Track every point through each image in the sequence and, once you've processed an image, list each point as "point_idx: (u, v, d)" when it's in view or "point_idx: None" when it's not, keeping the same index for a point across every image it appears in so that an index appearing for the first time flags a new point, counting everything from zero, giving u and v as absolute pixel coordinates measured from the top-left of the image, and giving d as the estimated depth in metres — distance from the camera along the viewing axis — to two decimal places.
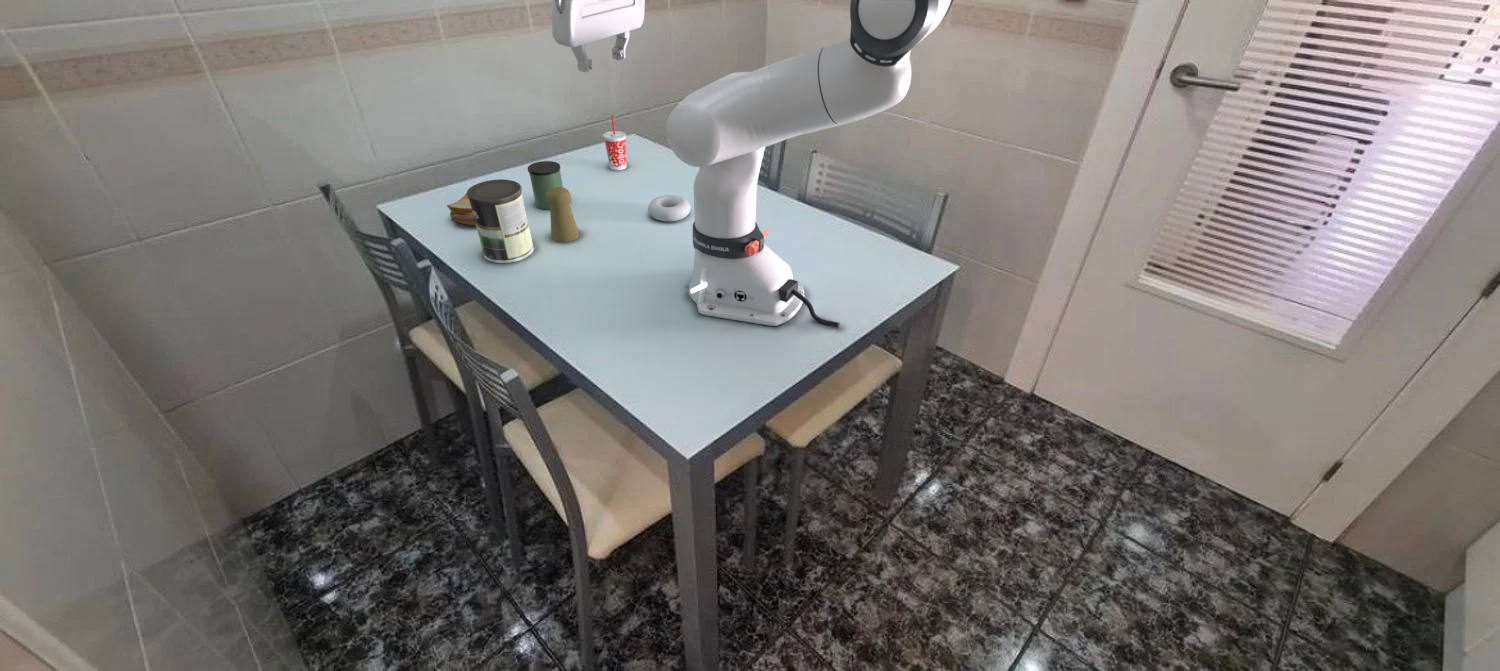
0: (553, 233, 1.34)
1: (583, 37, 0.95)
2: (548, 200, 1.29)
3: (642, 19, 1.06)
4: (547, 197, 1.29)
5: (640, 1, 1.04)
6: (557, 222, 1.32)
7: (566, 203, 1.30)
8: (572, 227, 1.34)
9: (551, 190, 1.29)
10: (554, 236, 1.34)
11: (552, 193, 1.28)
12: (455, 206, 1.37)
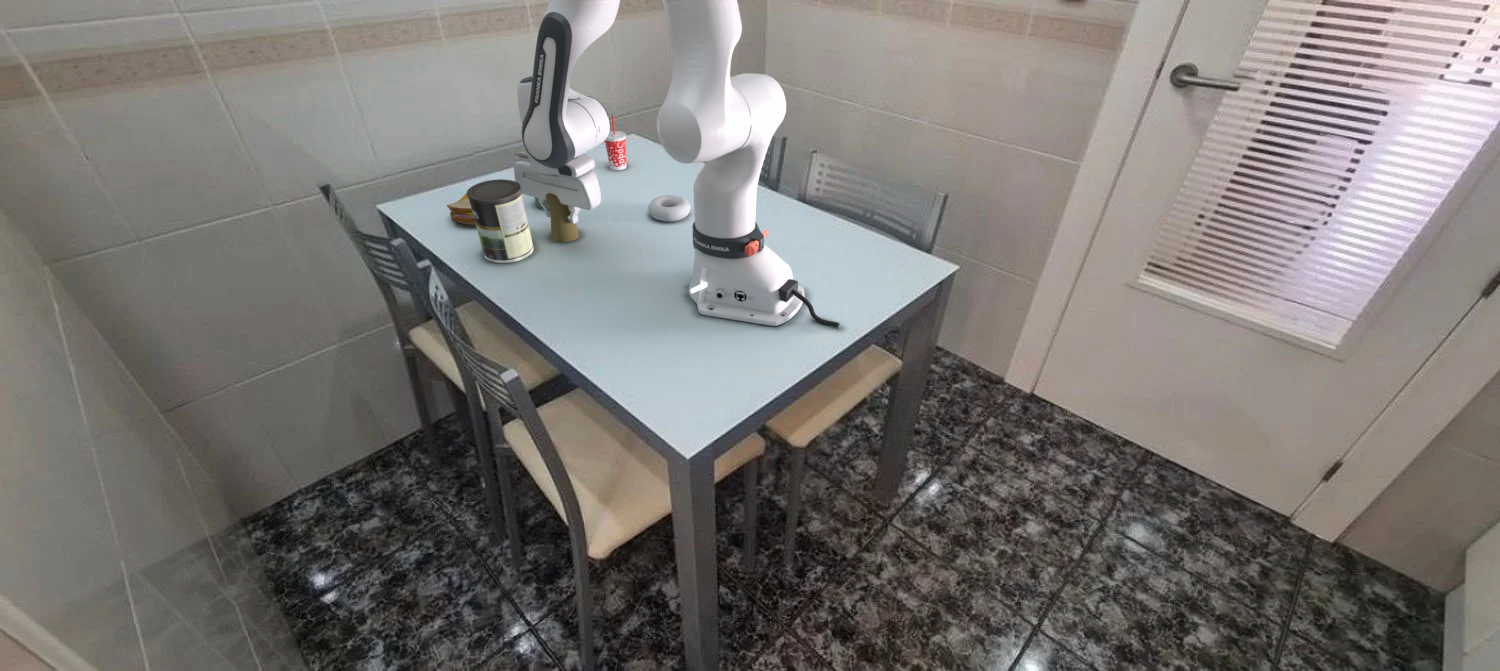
0: (553, 233, 1.34)
1: (526, 191, 1.31)
2: (548, 200, 1.29)
3: (587, 205, 1.26)
4: (547, 197, 1.29)
5: (581, 191, 1.24)
6: (557, 222, 1.32)
7: None
8: (572, 227, 1.34)
9: None
10: (554, 236, 1.34)
11: None
12: (455, 206, 1.37)
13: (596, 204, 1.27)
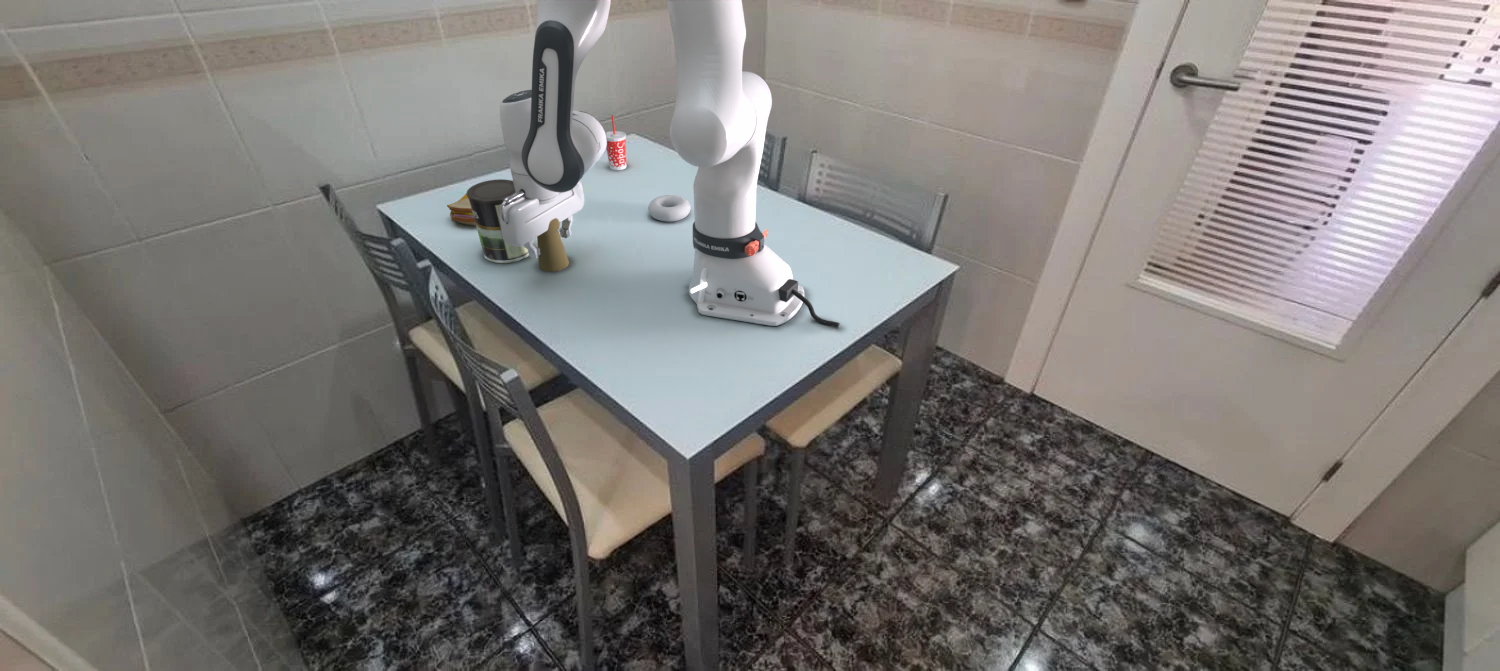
0: (560, 261, 1.24)
1: (528, 236, 1.14)
2: (554, 226, 1.19)
3: (582, 202, 1.26)
4: (551, 224, 1.19)
5: (578, 191, 1.24)
6: (561, 246, 1.23)
7: None
8: None
9: None
10: (562, 264, 1.24)
11: None
12: (455, 206, 1.37)
13: None
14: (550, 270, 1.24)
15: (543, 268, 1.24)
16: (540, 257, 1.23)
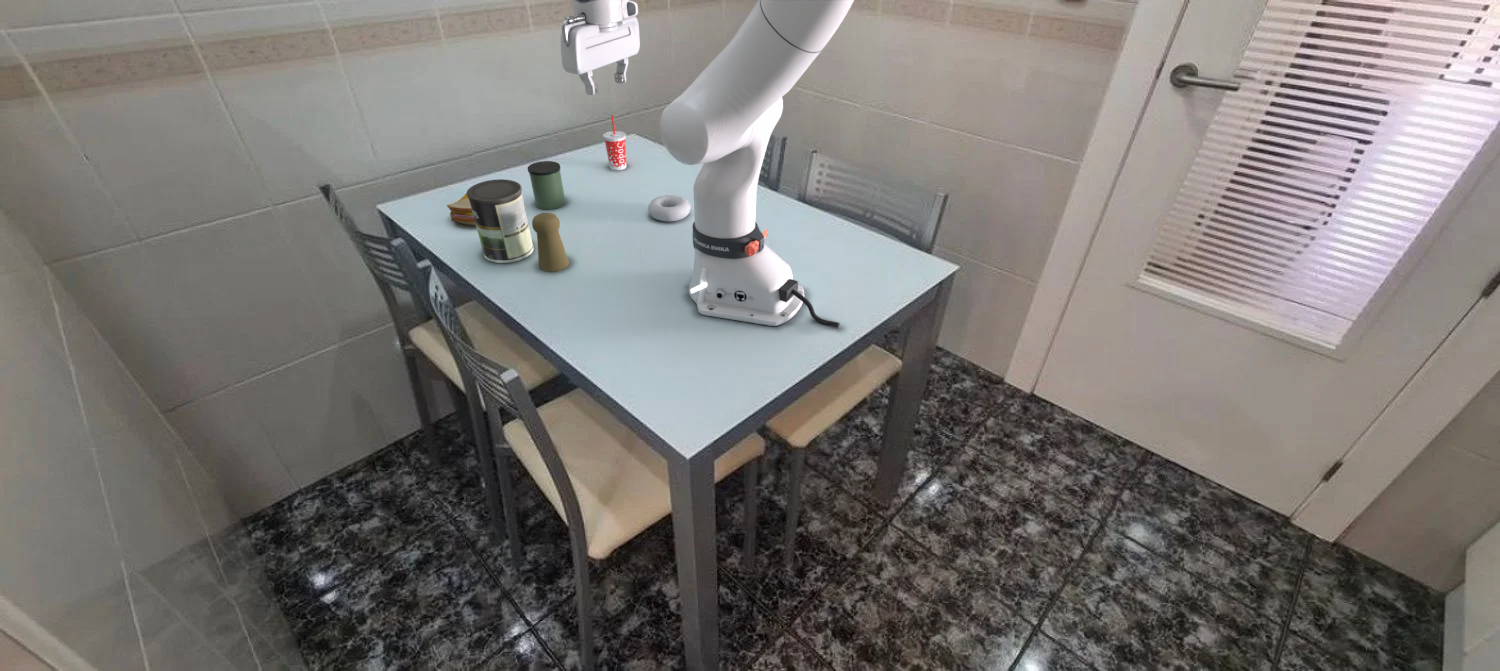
0: (560, 261, 1.24)
1: (588, 65, 1.11)
2: (554, 226, 1.19)
3: (638, 46, 1.23)
4: (551, 224, 1.19)
5: (635, 31, 1.20)
6: (561, 246, 1.23)
7: None
8: None
9: (544, 218, 1.19)
10: (562, 264, 1.24)
11: (552, 218, 1.19)
12: (455, 206, 1.37)
13: None
14: (550, 270, 1.24)
15: (543, 268, 1.24)
16: (540, 257, 1.23)
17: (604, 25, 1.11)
